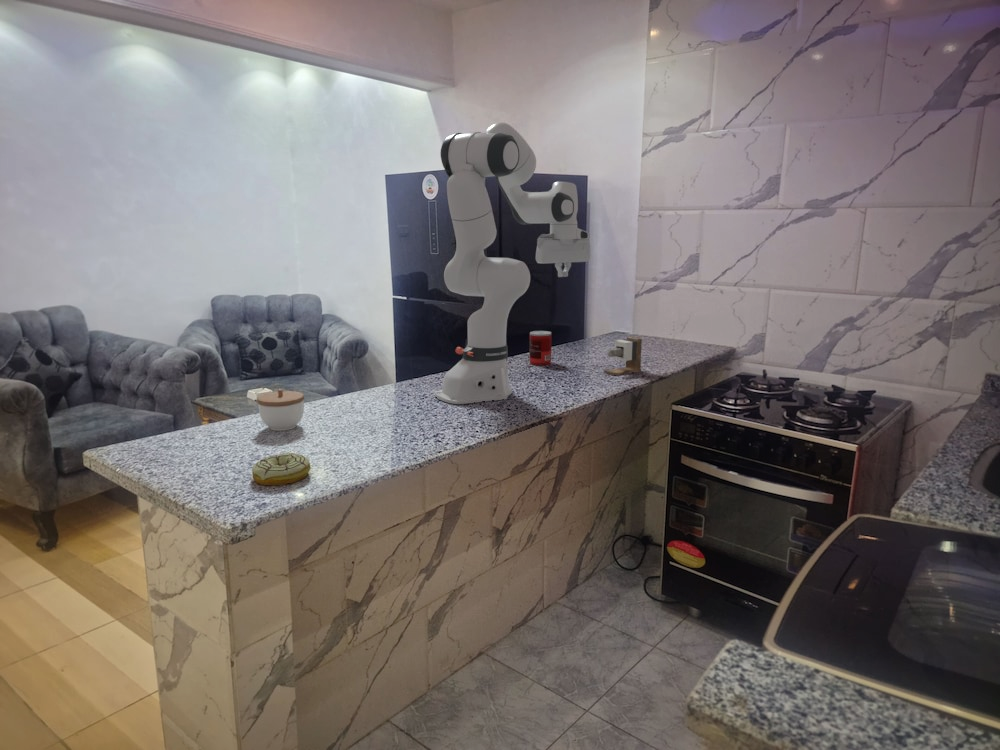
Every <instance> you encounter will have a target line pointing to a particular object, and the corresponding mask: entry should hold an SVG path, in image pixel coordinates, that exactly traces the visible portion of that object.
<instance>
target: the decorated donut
mask: <svg viewBox="0 0 1000 750" xmlns="http://www.w3.org/2000/svg"><path fill="white" fill-rule="evenodd" d="M310 470H311V462H310V460H309V459H308V458H307V457H306V456H305V455H303V454H299V453H294V452H289V453H288V452H286V453H285V452H284V453H278V454H275V455H274V454H273V455H269V456H267V457H264V458H262V459H260V460H259V461H258V462H256V463H255V464H254V465H253V466H252V467H251V471H252V472H251V473H252V478H253V481H254V482H255V483H256V484H260V485H262V486H272V487H273V486H274V487H275V486H276V487H277V486H279V485H281V486H285V485H287V484H293V483H296V482H298V481H301V480H303V479H304V478H306V477H307V476H308V475H309V472H310Z"/></svg>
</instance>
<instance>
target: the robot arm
mask: <svg viewBox="0 0 1000 750" xmlns="http://www.w3.org/2000/svg"><path fill="white" fill-rule="evenodd" d="M440 147H441V148H440V153H439V154H440V160H441V165H442V167H443V168H444V172H445V174H446V175H447V177H448V179H447V181H446V193H447V195H446V196H447V202H448V203H447V204H448V209H449V214H450V218H451V221H452V225H453V226H452V227H453V231H454V236H455V241H456V244H455V245H456V248H455V253H454V256H453V257H452V258H451V259H450V260H449V262H448V263H447V264H446V266H445V269H444V273H443V279H444V284H445V286H446V288H447V289H448V290H449V292H452V293H455V294H457V295H462V296H467V297H483V298H484V300H483V304H482V307H481V308H479V309H478V310H476V311H474V312H472V314H471V315H470V316H469V317H468V319H467V344H466V345H465V347H464V348H463V347H461V346H457V347H456V348H455V350H454V351H455V353H456V354H457V355H462V356H461V357H462V358H461V360H460V359H459V361H458V362H457V363H456V364H455V365H454V366H453V367H452V368H450V369H449V370H448V371H447V372H446V373H445V374H444V376H443V380H442V387H441V389H439V390H435V392H434V397H435V398H436V397H437V398H436V399H437V400H440V401H442V402H445V403H448V404H455V405H464V404H474V402H475V403H483V402H482V401H485V402H492V400H494V401H503V400H502V399H504V400H507V399H508V397H509V396H510V395H511V394H512V392H513V390H512V388H511V384H510V379H509V374H508V373H509V372H508V359H509V358H508V357H509V356H508V355H509V353H508V352H509V351H508V349H509V348H508V344H507V328H508V318H509V314H510V312H511V310H512V307H513V305H514V304H515V302H516V301H517V300H519V298H520V297H522V296H523V295H524V294H525V293H526V292H527V291H528V289H529V287H530V283H531V273H530V269H529V268H528V267H529V266H528V265H527V264H526V262H524V261H521V260H518V259H515V258H510V257H488V256H486V255H485V251H484V250H486V249H488V247H490V246H492V244H494V241H495V239H496V237H497V227H496V222H495V217H494V213H493V208H492V203H491V200H490V196H489V193H488V190H487V187H486V178H489V177H490V178H492V177H495V179H496V183H497V185H498V187H499V189H500V190H501V193H502V194H503V196H504V199H505V200H506V202H507V204H508V205H509V207H510V210H511V213H512V216H513V218H514V219H515V221H516V222H517V223H519V224H520V225H522V226H523V225H525V226H526V225H533V224H549V233H547V234H546V233H541V234H540V235H539V236H538V237H537V239H536V250H535V261H536V263H537V264H554V268H556V271H557V277H558V278H564V277H565V278H566V277H568V276H569V271H570V269H571V267H572V263H585V262H589V260H590V258H591V242H590V241H589V240H588V239H590V235H591V234H590V231H586V230H584V229H581V228H579V227H578V220H577V216H578V215H577V214H578V210H579V206H578V205H579V199H578V196H579V195H578V190H577V185H576V184H575V183H574V182H571V181H565V180H558V181H554V182H553V183H552V185H551V186H552V187H551V189H549V190H548V191H540V192H539V191H534V192H532V191H524V190H523V189H522V187H521V186H522V185H524V184H525V183H527V182H528V181H529V180H530V179H532V176H533V175H534V173H535V170H536V168H537V158H536V155H535V152H534V151H533V149H532V148H531V146H530V144H529V143H528V142H527V140H525V138H524V137H523V136H522V134H520V132H518V131H517V130H516V129H515V128H514V127H513V126H512V125H510V124H509V123H506V122H496V123H494V124H492V125H490V126H489V127H488V128H487V129H486V130H485V131H484V132H481V131H473V132H471V131H470V132H464V133H463V132H457V133H454V134H451V135H449V136H447V137H446V138H444V140H443V142H442V145H441V146H440ZM563 266H564V268H562V267H563Z"/></svg>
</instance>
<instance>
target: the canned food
mask: <svg viewBox="0 0 1000 750" xmlns="http://www.w3.org/2000/svg"><path fill="white" fill-rule="evenodd" d="M552 339H553V338H552V331H549V330H548V331H547V330H533V331H530V332H529V363H530V365H533V366H548V365H551V363H552Z"/></svg>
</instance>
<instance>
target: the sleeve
mask: <svg viewBox="0 0 1000 750" xmlns="http://www.w3.org/2000/svg"><path fill="white" fill-rule="evenodd" d="M623 347H624V355H621V356H614V357H613V359H615V360H620V361H624V362H626V361H629V360H632V342H630V341H625V340H624V339H618V340H614V347H613V349H618V348H623Z"/></svg>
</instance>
